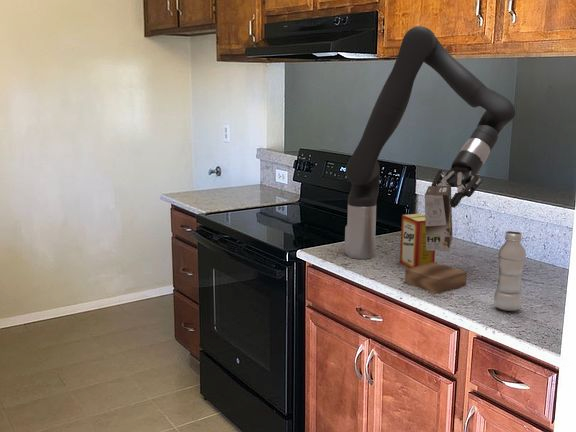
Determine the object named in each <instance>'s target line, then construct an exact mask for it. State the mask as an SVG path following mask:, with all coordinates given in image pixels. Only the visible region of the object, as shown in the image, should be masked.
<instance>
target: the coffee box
mask: <svg viewBox="0 0 576 432" xmlns="http://www.w3.org/2000/svg"><path fill="white" fill-rule="evenodd" d="M451 199H452V187H451V186H444V185H443V186H431V185H429V186H428V187H427V189H426V191H425V193H424V215H425V223H426V250H432V251H435V252H436V251H437V252H438V251H439V252H449V251H450V249H451V245H452V242H453V209H452V208H453V207H451Z"/></svg>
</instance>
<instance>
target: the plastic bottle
mask: <svg viewBox="0 0 576 432" xmlns="http://www.w3.org/2000/svg"><path fill="white" fill-rule="evenodd" d="M522 240H523V238H522V232H520V231H516V230H515V231H514V230H513V231H512V230H507V231H506V232H505V237H504V241H505V242H504V243H503V244H502V245H501V246H500V247H499V249H498V251H497V252H498V253H497V255H498V256H497V257H498V279H497V285H496V289H495V291H494V295H493V302H494V303H493V304H494V305H495V307H496V308H497V309H499V310H502V311H507V312H508V311H509V312H516V311H517V310H519V309H520V308H521V307H522V306H521V305H522V303H523V300H522V298H523V296H522V275H523V270H524V267H525V262H526V258H527V252H526V249H525V248H524V246H523V245H522V243H521V242H522Z"/></svg>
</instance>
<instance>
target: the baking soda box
mask: <svg viewBox="0 0 576 432" xmlns="http://www.w3.org/2000/svg"><path fill="white" fill-rule="evenodd" d="M400 229H401V230H400V231H401V232H400V249H399V251H400V254H399V264H401V265H403V266H405V267H406V268H407V269H408V268H412V267H416V266H420V265H424V264H428V263H432V262H436V261H435V258H436V257H435V256H436V251H432V250H426V223H425V213H411V214H410V213H409V214H402V215H401V227H400Z"/></svg>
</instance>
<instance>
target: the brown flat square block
mask: <svg viewBox="0 0 576 432" xmlns="http://www.w3.org/2000/svg"><path fill="white" fill-rule="evenodd" d="M404 272H405V275H404V276H405V277H404V278H405V279H404V283H405V284H409V285H411V286H414V287H417V288H419V289H422V290H425V291H428V292H431V293H434V294H437V295H440V294H443V293H447V292H449V291H452V290H455V289H459V288H463V287H465V286H467V278H468V276H467V275H468V274H467V273H468V272H467V271H465V270H461V269H458V268H455V267H451V266H448V265H445V264H441V263H437V262H436V261H434V262H432V263H428V264H424V265H420V266H416V267H412V268H408V267H407V268H405V271H404Z"/></svg>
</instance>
